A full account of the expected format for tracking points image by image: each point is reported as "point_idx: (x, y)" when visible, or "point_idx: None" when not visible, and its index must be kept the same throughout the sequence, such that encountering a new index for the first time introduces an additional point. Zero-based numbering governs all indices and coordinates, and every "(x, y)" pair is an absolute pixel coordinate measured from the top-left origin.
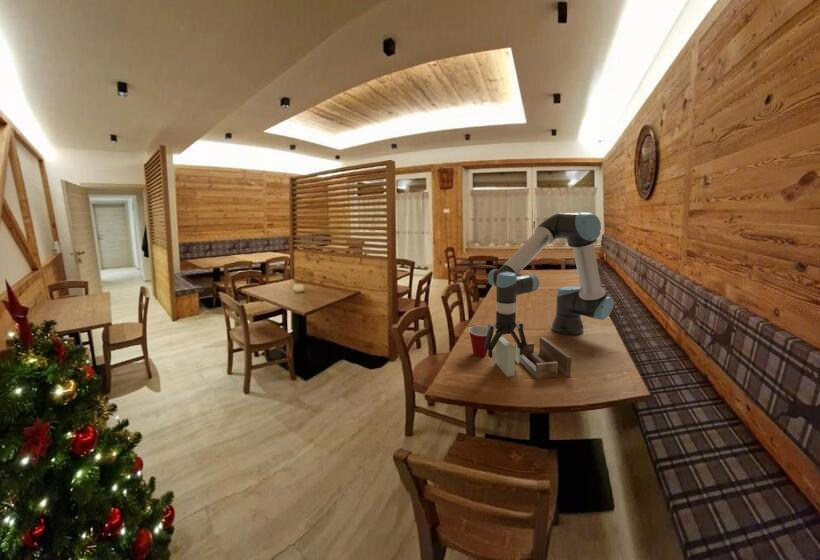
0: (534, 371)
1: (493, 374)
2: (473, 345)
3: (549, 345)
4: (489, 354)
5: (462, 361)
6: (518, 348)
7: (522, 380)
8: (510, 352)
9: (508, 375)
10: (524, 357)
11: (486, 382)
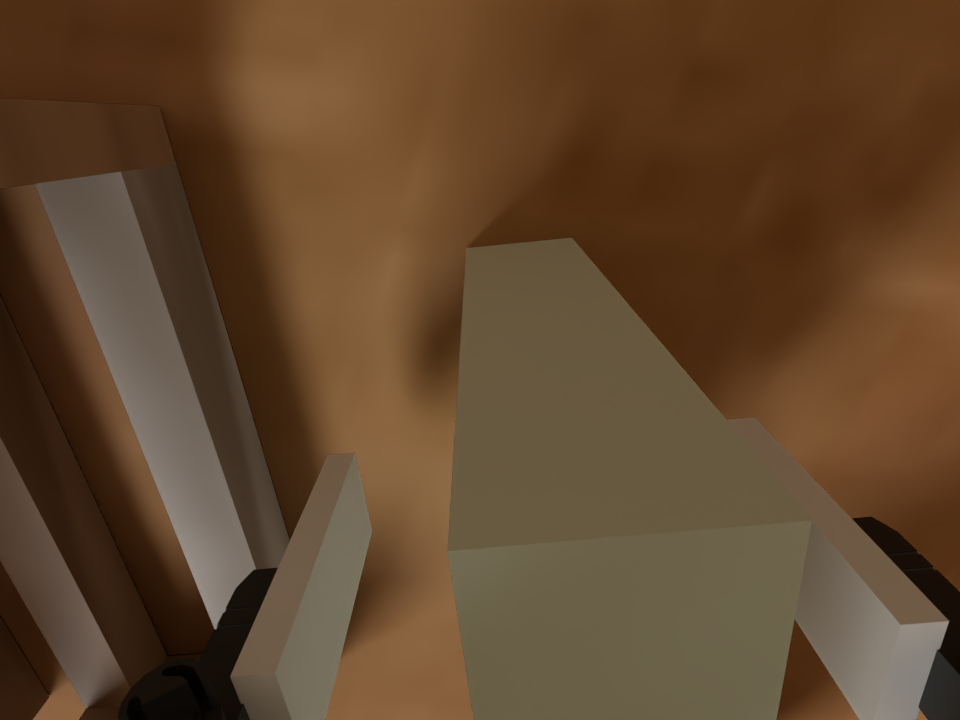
0: (150, 219)
1: (728, 316)
2: None
3: None
4: (931, 567)
5: None
6: (272, 674)
7: (392, 96)
8: (618, 424)
9: (555, 243)
10: (223, 598)
11: (938, 96)
